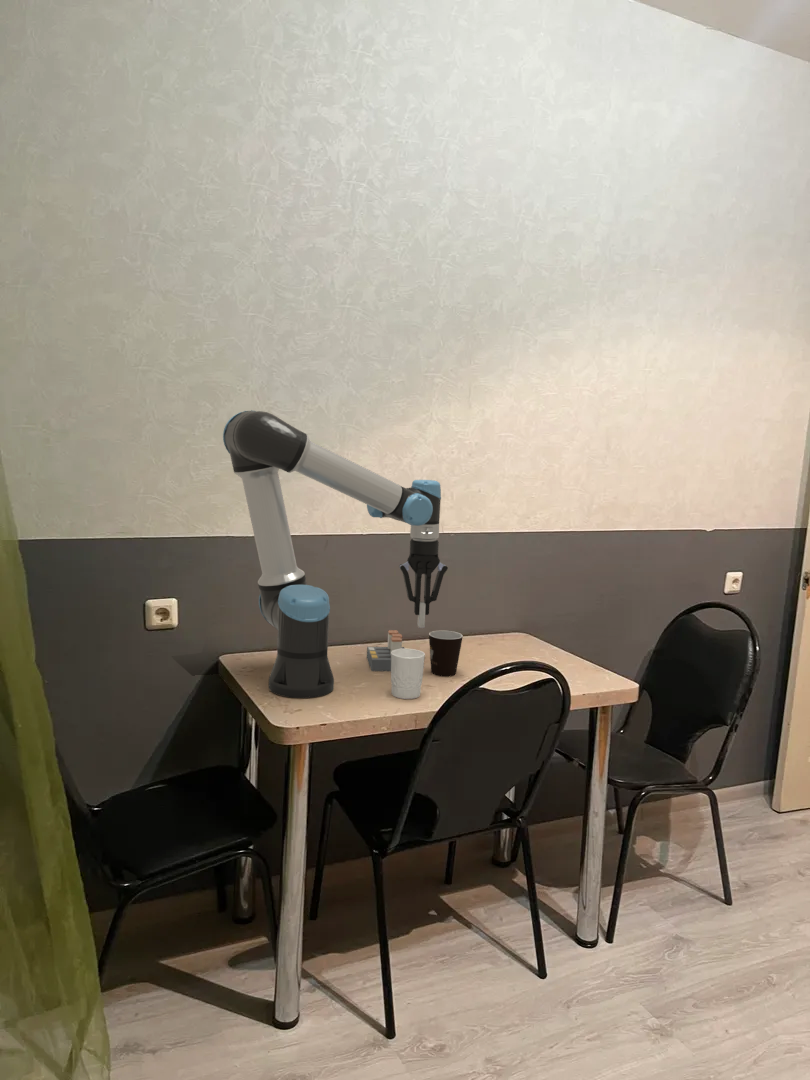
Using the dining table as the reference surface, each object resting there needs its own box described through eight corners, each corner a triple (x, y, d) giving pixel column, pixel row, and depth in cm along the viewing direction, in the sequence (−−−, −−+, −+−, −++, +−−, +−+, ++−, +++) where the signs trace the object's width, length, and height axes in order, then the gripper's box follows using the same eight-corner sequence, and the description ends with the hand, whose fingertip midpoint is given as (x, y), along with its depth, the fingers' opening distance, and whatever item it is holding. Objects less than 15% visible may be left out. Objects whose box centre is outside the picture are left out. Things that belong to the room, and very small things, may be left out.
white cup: (410, 687, 194) (412, 646, 193) (429, 697, 188) (431, 655, 186) (382, 691, 190) (384, 650, 188) (400, 702, 183) (402, 659, 182)
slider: (388, 649, 213) (389, 632, 213) (387, 646, 216) (388, 630, 215) (397, 649, 214) (398, 632, 213) (396, 646, 216) (397, 630, 216)
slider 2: (392, 653, 210) (392, 636, 209) (390, 650, 213) (391, 633, 212) (401, 653, 211) (402, 636, 210) (400, 650, 213) (401, 633, 212)
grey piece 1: (391, 656, 207) (392, 639, 206) (389, 654, 209) (390, 637, 208) (400, 657, 207) (401, 639, 206) (399, 654, 209) (400, 637, 209)
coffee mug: (457, 679, 202) (460, 640, 200) (423, 675, 204) (426, 637, 202) (463, 666, 213) (466, 629, 212) (431, 663, 215) (433, 626, 213)
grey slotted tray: (371, 671, 205) (372, 658, 205) (366, 657, 217) (367, 645, 216) (410, 671, 207) (411, 659, 206) (403, 657, 218) (404, 646, 218)
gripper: (401, 540, 207) (398, 630, 211) (451, 541, 209) (447, 630, 213) (397, 536, 215) (394, 623, 218) (446, 537, 216) (442, 623, 220)
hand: (421, 626), depth 215 cm, fingers closed
